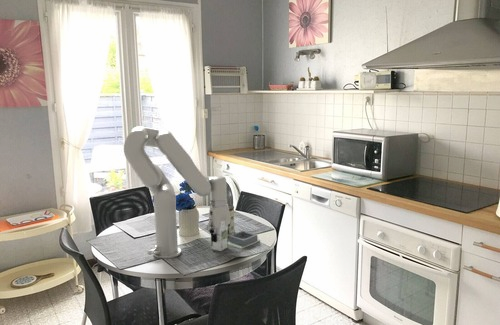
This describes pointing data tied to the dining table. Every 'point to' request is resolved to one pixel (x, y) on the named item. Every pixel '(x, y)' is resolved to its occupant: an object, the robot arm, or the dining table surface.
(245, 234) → the grey square tray
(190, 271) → the dining table surface
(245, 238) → the board
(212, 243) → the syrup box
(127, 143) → the robot arm
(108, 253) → the dining table surface
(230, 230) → the coffee can
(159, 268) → the dining table surface
